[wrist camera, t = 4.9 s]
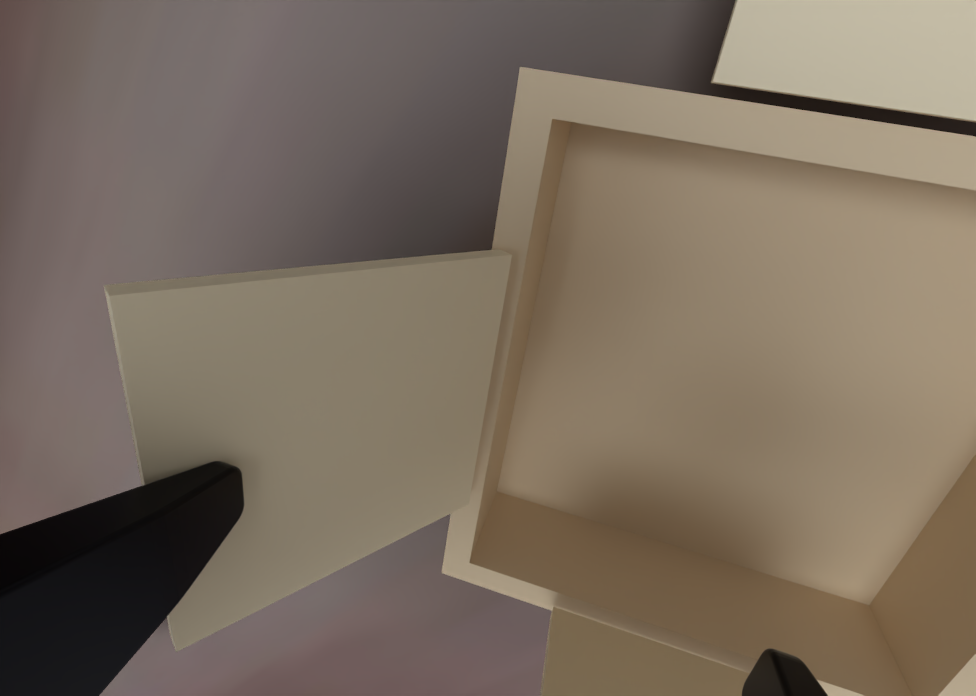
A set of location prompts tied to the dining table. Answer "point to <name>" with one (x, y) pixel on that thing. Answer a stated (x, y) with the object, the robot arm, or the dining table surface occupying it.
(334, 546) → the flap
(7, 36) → the dining table surface
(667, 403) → the carton
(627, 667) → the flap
